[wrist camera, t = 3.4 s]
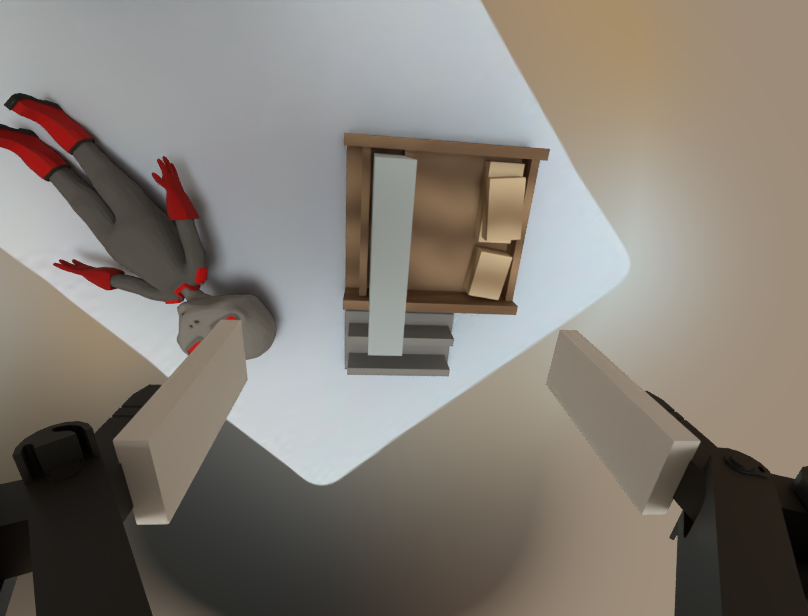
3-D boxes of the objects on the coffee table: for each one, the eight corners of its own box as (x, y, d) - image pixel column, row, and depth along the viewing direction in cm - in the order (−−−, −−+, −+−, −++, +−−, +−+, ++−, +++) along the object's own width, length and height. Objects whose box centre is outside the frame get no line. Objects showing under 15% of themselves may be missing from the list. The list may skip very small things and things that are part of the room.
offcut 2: (484, 177, 38) (490, 179, 36) (518, 175, 38) (525, 177, 36) (481, 237, 40) (486, 241, 38) (513, 235, 40) (520, 239, 38)
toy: (44, 43, 30) (296, 331, 35) (132, 82, 39) (321, 306, 44) (-68, 174, 33) (181, 421, 38) (39, 181, 42) (227, 379, 47)
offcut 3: (474, 244, 42) (481, 251, 39) (503, 250, 43) (512, 257, 40) (462, 285, 44) (468, 294, 41) (490, 290, 45) (498, 300, 42)
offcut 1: (484, 160, 39) (490, 161, 37) (517, 163, 39) (524, 164, 37) (474, 237, 42) (478, 241, 40) (504, 239, 42) (510, 243, 40)
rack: (347, 134, 38) (344, 132, 33) (529, 148, 40) (549, 149, 35) (346, 292, 44) (343, 309, 40) (501, 298, 46) (516, 314, 42)
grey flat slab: (374, 152, 38) (375, 156, 23) (399, 154, 38) (417, 159, 23) (369, 284, 43) (367, 355, 28) (391, 285, 43) (401, 355, 29)
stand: (345, 365, 48) (342, 385, 44) (345, 307, 45) (343, 324, 41) (444, 366, 50) (451, 386, 45) (452, 311, 46) (459, 327, 42)
